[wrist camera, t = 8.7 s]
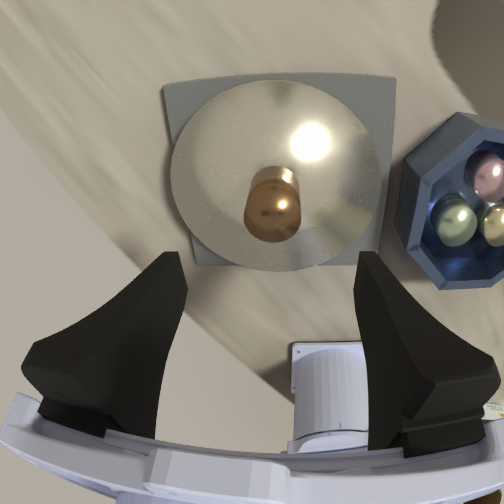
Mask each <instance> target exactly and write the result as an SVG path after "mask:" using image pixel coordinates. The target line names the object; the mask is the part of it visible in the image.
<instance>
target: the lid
mask: <svg viewBox="0 0 504 504" xmlns="http://www.w3.org/2000/svg"><path fill="white" fill-rule="evenodd" d="M170 175H171V187H172V194H173V197H174V200H175V204H176V206H177V209H178V211H179V213H180V215H181V217H182V219H183V220H184V222H185V223H186V225H187V227H188V228H189V229H190V230H191V232H192V233H193V234H194V235H195V236H196V237H197V238H198V239H199V240H200V241H201V242H202V243H203V244H204V245H205V246H207V247H208V248H209V249H210V250H212V251H213V252H215V253H216V254H218V255H220V256H221V257H223V258H225V259H227V260H229V261H231V262H233V263H236V264H239V265H242V266H245V267H249V268H253V269H257V270H264V271H279V272H280V271H294V270H300V269H305V268H309V267H312V266H316V265H318V264H321V263H323V262H326V261H328V260H330V259H331V258H333V257H335V256H337V255H338V254H340V253H341V252H343V251H344V250H346V249H347V248H348V247H349V246H350V245H351V244H353V243H354V242H355V241H356V240H357V239H358V237H359V236H360V235H361V234H362V233H363V232H364V230H365V229H366V227H367V226H368V224H369V223H370V221H371V219H372V217H373V215H374V213H375V210H376V207H377V204H378V201H379V196H380V190H381V168H380V161H379V158H378V154H377V150H376V148H375V145H374V143H373V141H372V139H371V136H370V135H369V133H368V132H367V130H366V128H365V127H364V125H363V124H362V123H361V122H360V120H359V119H358V118H357V117H356V116H355V115H354V113H353V112H352V111H351V110H350V109H349V108H347V107H346V106H345V105H344V104H343V103H342V102H340V101H339V100H337V99H336V98H334V97H333V96H331V95H330V94H328V93H326V92H324V91H322V90H320V89H317V88H315V87H313V86H310V85H306V84H303V83H299V82H294V81H287V80H261V81H253V82H249V83H245V84H242V85H238V86H235V87H233V88H231V89H229V90H226V91H224V92H222V93H221V94H219V95H217V96H216V97H214V98H213V99H211V100H210V101H209V102H207V103H206V104H205V105H204V106H203V107H201V108H200V109H199V110H198V111H197V112H196V113H195V114H194V115H193V117H192V118H191V119H190V120H189V121H188V123H187V124H186V126H185V127H184V129H183V130H182V132H181V134H180V136H179V138H178V140H177V143H176V145H175V148H174V152H173V155H172V161H171V169H170Z"/></svg>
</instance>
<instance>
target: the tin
mask: <svg viewBox="0 0 504 504" xmlns="http://www.w3.org/2000/svg"><path fill="white" fill-rule="evenodd" d="M395 227H396V229H397V231H398V233H399V235H400V238H401V240H402V242H403V244H404V246H405V249H406V251H407V252H408V253H409V254H410V256H411V257H412V258H413V259H414V260H415V261H416V263H417V264H418V265H419V266H420V267H421V268H422V270H423V271H424V272H425V273H426V274H427V276H428V277H429V278H430V279H431V281H432V282H433V283H434V284H435V285H436V287H437V288H438V289H439V290H450V289H469V288H486V287H492V286H493V285H494V284H496V283H497V282H498V281H500V280H501V279H502V278H504V121H501V120H496V119H492V118H487V117H483V116H478V115H473V114H467V113H462V112H457V113H456V114H455V115H454V116H453V117H451V118H450V119H449V120H448V121H447V122H446V123H445V124H443V125H442V126H441V127H440V128H439V129H438V130H437V131H435V132H434V133H433V134H432V135H431V136H430V137H429V138H427V139H426V140H425V141H424V142H423V143H422V144H420V145H419V146H418V147H417V148H416V149H415V150H413V151H412V152H411V153H410V154H409V155H408V156H407V157H405V158H404V166H403V174H402V182H401V189H400V195H399V202H398V208H397V214H396V220H395Z"/></svg>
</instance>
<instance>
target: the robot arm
mask: <svg viewBox="0 0 504 504" xmlns="http://www.w3.org/2000/svg"><path fill="white" fill-rule="evenodd" d="M187 291H188V287H187V284H186V280H185V276H184V272H183V269H182V265H181V261H180V257H179V253H178V252H163V253H162V254H161V255H160V256H159V257H158V258H156V259H155V260H154V261H153V262H152V263H151V264H150V265H149V266H148V267H147V268H146V269H145V270H144V271H143V272H142V273H141V274H139V275H138V276H137V277H136V278H135V279H134V280H133V281H132V282H131V283H130V284H128V285H127V286H126V287H125V288H124V289H123V290H121V291H120V292H119V293H118V294H117V295H116V296H115V297H114V298H112V299H111V300H109V301H108V302H107V303H105V304H104V305H103V306H101V307H100V308H99V309H97V310H96V311H94V312H93V313H91V314H90V315H88V316H86V317H85V318H83V319H82V320H80V321H78V322H77V323H75V324H73V325H71V326H69V327H68V328H66V329H64V330H62V331H60V332H58V333H55V334H53V335H51V336H49V337H46V338H44V339H42V340H39V341H37V342H34V343H33V345H32V347H31V349H30V350H29V352H28V354H27V356H26V357H25V359H24V361H23V363H22V365H21V370H22V372H23V374H24V376H25V377H26V378H27V380H28V381H29V382H30V383H31V384H32V385H33V386H34V387H35V388H36V389H37V390H38V391H39V392H40V394H42V396H43V397H44V398H43V400H42V402H40V401H38V400H36V399H34V398H32V397H29V396H27V395H24V394H22V393H17V394H16V397H15V398H14V400H13V403H12V405H11V407H10V409H9V411H8V413H7V415H6V418H5V420H4V422H3V424H2V427H1V429H0V442H1V443H2V444H3V445H5V446H6V447H8V448H9V449H10V450H12V451H13V452H15V453H17V454H18V455H19V456H21V457H23V458H24V459H25V460H27V461H29V462H30V463H32V464H34V465H36V466H38V467H40V468H42V469H44V470H46V471H48V472H50V473H53V474H54V475H57V476H59V477H61V478H63V479H65V480H68V481H70V482H72V483H74V484H77V485H79V486H82V487H84V488H86V489H89V490H91V491H94V492H97V493H99V494H102V495H104V496H107V497H110V498H113V499H116V504H460V503H464V502H467V501H470V500H473V499H476V498H479V497H481V496H484V495H487V494H490V493H492V492H494V491H496V490H498V489H500V488H502V487H503V486H504V418H500V419H497V420H493V421H491V422H488V423H486V424H485V425H483V422H482V418H483V417H484V416H485V412H484V408H483V406H484V405H485V404H486V403H487V401H488V400H489V399H490V398H491V397H492V396H493V395H494V394H495V392H496V391H497V390H498V388H499V386H500V383H501V378H500V375H499V372H498V369H497V366H496V364H495V361H494V359H493V357H492V356H490V355H488V354H486V353H485V352H483V351H481V350H479V349H478V348H476V347H474V346H472V345H471V344H469V343H468V342H466V341H465V340H463V339H462V338H460V337H459V336H457V335H456V334H454V333H453V332H452V331H450V330H449V329H448V328H446V327H445V326H444V325H443V324H441V323H440V322H439V321H438V320H436V319H435V318H434V317H433V316H432V315H431V314H430V313H429V312H428V311H426V310H425V309H424V308H423V307H422V306H421V305H420V304H419V303H418V302H417V301H416V300H415V299H414V298H413V297H412V296H411V295H410V293H409V292H408V291H407V290H406V289H405V288H404V287H403V286H402V284H401V283H400V282H399V281H398V280H397V278H396V277H395V276H394V275H393V274H392V272H391V271H390V270H389V269H388V267H387V266H386V265H385V264H384V262H383V261H382V260H381V258H380V257H379V256H378V255H377V253H376V252H375V251H359V258H358V264H357V271H356V277H355V283H354V289H353V291H354V302H355V312H356V317H357V321H358V326H359V331H360V336H361V340H362V342H331V343H295V344H293V346H292V375H291V393H293V394H295V410H294V435H293V441H288V446H287V451H282V452H280V453H279V454H274V453H255V452H240V451H229V450H219V449H211V448H203V447H195V446H188V445H181V444H175V443H169V442H164V441H159V440H155V428H156V418H157V410H158V403H159V396H160V390H161V384H162V378H163V374H164V369H165V364H166V360H167V357H168V353H169V350H170V347H171V344H172V342H173V339H174V336H175V333H176V330H177V328H178V324H179V322H180V319H181V316H182V313H183V310H184V306H185V301H186V296H187Z"/></svg>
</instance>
